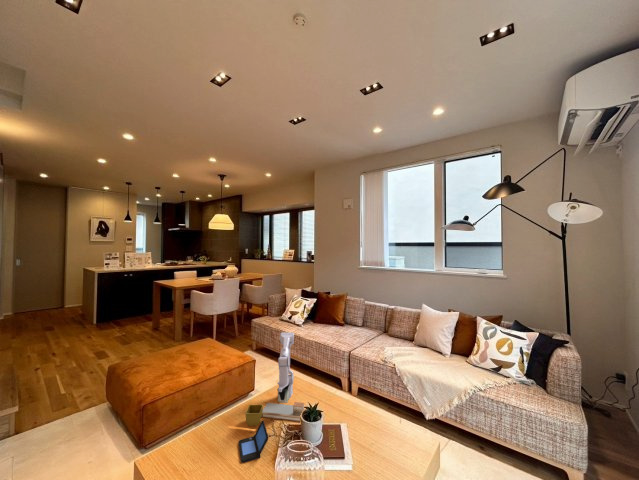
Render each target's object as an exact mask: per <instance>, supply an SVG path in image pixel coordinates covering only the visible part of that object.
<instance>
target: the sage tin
mask: <svg viewBox="0 0 639 480" xmlns="http://www.w3.org/2000/svg"><path fill="white" fill-rule="evenodd" d="M289 400H290V398H289V390H286V392H285V398H284V400H281V399H280V395H279V392H278V391H277V403H280V404H283V403H284V404H287V403H288V402H289Z"/></svg>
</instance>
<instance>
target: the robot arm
mask: <svg viewBox="0 0 639 480" xmlns="http://www.w3.org/2000/svg"><path fill="white" fill-rule="evenodd" d="M279 341H280V344H281V345H282V348H281V349H280V354H279V357H278V361H277V363H278V364H277V365H278V375H279V376H278V381H277V385H278V388H277V393H278V392H279V395H280V399H281V400H284V398H285V392H286V390H289V399H291V398H292V395H293V394H295V393H294V392H293V391H294V389H293V388H294V387H293V384H294V372H293V370H291V367H290V366H291V346H292V345H294V343H295V333H294V332H280V335H279Z"/></svg>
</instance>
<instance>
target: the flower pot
mask: <svg viewBox="0 0 639 480" xmlns="http://www.w3.org/2000/svg"><path fill="white" fill-rule="evenodd" d="M263 409H264V405H263V404H248V406H247V409H246V411H245V413H244V415H245V422H246V424H247V426H248V427H249V426H251V427H253V426H256V427H257V426H258V427H259V425H260V423H261V419H262V417H261V416H262V411H263Z"/></svg>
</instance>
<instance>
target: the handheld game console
mask: <svg viewBox="0 0 639 480" xmlns="http://www.w3.org/2000/svg"><path fill="white" fill-rule="evenodd" d="M266 427H267V426H266V424H265V421H264V420H261V421H260V423H259V425H258V428H257V430H256V431H255V434H253V435H252V436H248V437H245V438H241V439H239V440H238V450H239V456H240V462H241V463H247V462H250V461H254V460H257V459H260V458H261V454H262V452H263V450H264V449H265V447H266V444H267V443H268V440H269V435H268V431H267V428H266Z"/></svg>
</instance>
